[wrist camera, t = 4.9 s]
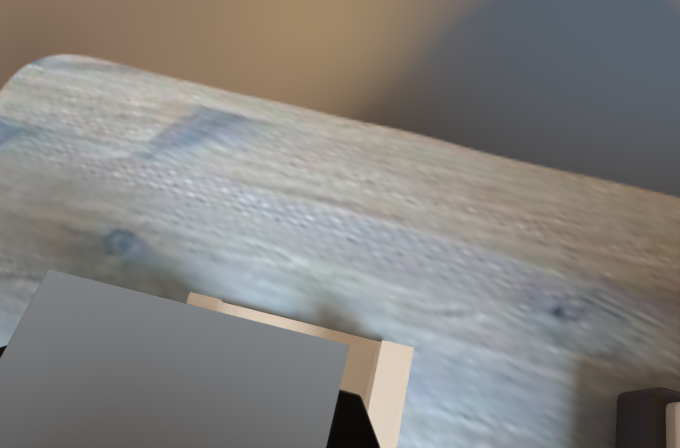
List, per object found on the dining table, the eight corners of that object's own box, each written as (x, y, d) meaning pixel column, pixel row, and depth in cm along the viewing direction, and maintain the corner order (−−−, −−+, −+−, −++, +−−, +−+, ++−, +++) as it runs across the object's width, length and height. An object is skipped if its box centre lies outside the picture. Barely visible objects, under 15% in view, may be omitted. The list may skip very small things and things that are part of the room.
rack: (350, 626, 16) (357, 675, 13) (122, 558, 17) (73, 588, 14) (401, 349, 20) (415, 334, 17) (215, 303, 21) (195, 279, 18)
